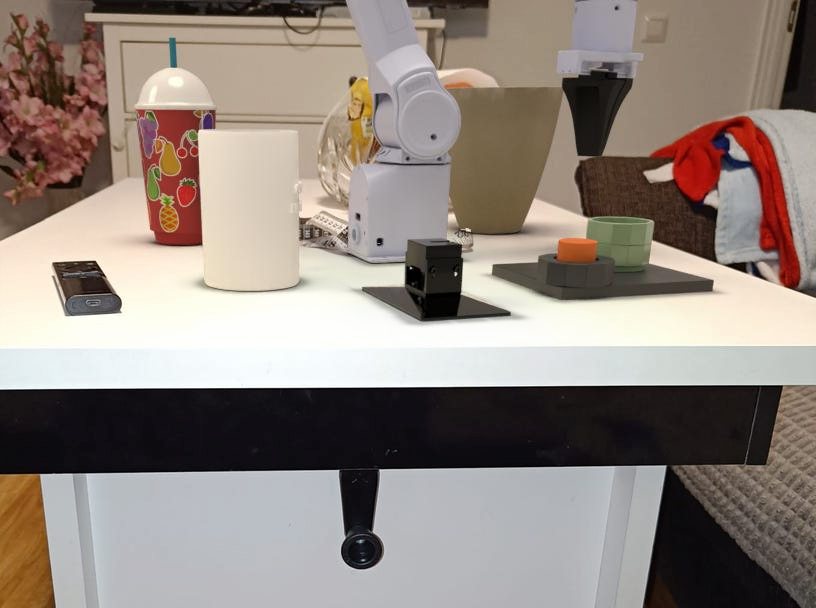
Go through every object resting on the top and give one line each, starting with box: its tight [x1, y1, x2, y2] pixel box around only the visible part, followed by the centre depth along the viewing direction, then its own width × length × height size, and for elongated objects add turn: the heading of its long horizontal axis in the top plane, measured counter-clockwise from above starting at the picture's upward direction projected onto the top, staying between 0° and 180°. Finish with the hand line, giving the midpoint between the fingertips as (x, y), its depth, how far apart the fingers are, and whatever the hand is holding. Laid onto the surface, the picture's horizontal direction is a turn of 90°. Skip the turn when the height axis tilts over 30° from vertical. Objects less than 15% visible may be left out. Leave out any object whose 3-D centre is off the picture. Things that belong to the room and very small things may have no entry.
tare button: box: [556, 237, 598, 262], centre depth 74 cm, size 3×3×2 cm
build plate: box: [361, 238, 512, 323], centre depth 70 cm, size 12×7×5 cm, turn 18°
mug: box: [198, 128, 303, 292], centre depth 78 cm, size 8×12×12 cm
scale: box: [491, 252, 715, 301], centre depth 78 cm, size 14×12×3 cm
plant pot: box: [444, 86, 564, 235], centre depth 109 cm, size 15×15×16 cm
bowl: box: [585, 216, 655, 272], centre depth 80 cm, size 5×5×4 cm
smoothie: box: [133, 37, 218, 246], centre depth 97 cm, size 8×8×20 cm
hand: (589, 156), depth 92 cm, fingers closed
